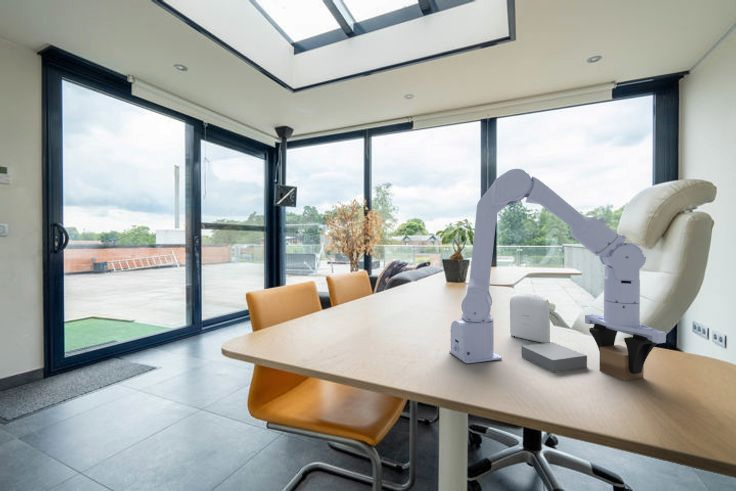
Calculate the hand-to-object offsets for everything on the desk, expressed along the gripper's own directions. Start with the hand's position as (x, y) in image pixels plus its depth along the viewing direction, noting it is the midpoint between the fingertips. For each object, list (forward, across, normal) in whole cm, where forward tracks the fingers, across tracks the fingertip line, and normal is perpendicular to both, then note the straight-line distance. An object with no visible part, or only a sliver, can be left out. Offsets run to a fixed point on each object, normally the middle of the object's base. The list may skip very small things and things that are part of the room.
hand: (620, 367), depth 64 cm
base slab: (+2, +9, +8) cm, 12 cm away
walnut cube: (+1, 0, 0) cm, 1 cm away
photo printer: (+2, +24, +1) cm, 24 cm away
